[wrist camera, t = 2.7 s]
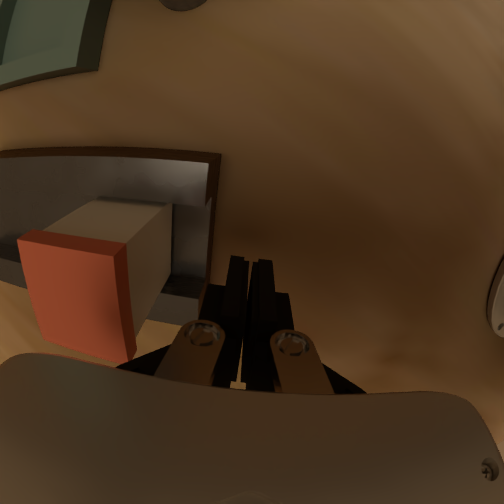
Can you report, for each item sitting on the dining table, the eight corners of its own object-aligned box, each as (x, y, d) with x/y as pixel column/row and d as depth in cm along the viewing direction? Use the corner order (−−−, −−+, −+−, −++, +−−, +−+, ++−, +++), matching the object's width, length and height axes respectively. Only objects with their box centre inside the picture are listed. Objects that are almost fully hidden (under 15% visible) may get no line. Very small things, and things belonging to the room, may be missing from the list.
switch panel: (221, 153, 16) (208, 163, 12) (208, 290, 20) (197, 328, 16) (2, 150, 16) (-34, 161, 12) (13, 253, 19) (-15, 275, 16)
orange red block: (176, 195, 15) (113, 256, 8) (174, 276, 17) (129, 365, 10) (103, 188, 15) (16, 239, 8) (107, 265, 17) (43, 339, 10)
